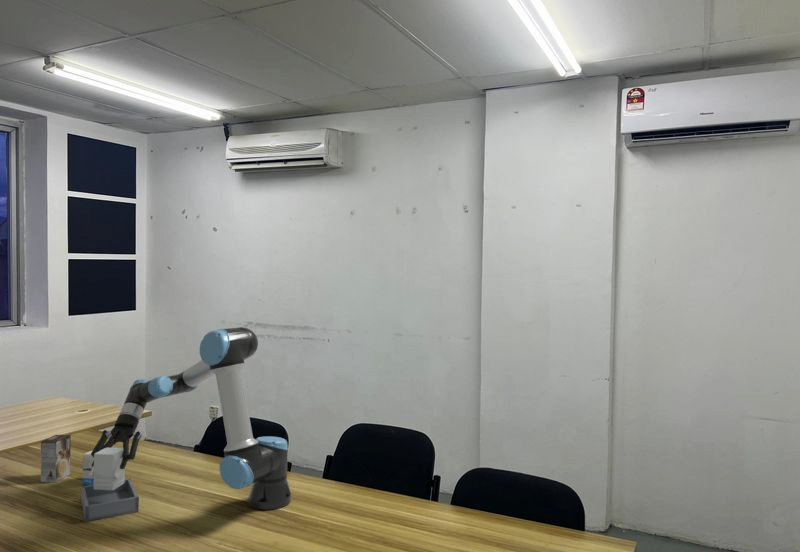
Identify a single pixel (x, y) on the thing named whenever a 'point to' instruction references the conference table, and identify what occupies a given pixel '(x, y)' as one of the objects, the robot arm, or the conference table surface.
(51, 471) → the coffee box
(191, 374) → the robot arm
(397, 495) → the conference table surface
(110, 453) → the supplement box
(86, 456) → the ink box
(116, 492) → the tote
